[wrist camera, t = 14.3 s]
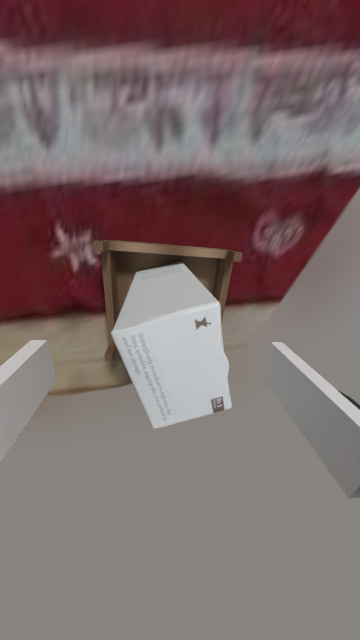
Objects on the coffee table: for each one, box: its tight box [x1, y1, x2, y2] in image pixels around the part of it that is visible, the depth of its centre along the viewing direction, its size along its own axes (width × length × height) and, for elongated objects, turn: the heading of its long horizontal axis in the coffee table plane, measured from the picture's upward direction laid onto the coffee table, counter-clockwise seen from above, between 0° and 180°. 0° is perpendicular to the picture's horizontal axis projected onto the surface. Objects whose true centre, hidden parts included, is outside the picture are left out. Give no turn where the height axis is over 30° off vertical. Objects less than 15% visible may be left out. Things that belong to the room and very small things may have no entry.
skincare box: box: [111, 261, 232, 429], centre depth 17 cm, size 8×6×15 cm
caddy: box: [93, 240, 243, 361], centre depth 22 cm, size 14×13×6 cm
